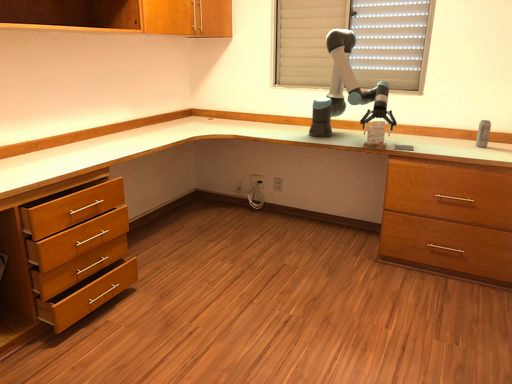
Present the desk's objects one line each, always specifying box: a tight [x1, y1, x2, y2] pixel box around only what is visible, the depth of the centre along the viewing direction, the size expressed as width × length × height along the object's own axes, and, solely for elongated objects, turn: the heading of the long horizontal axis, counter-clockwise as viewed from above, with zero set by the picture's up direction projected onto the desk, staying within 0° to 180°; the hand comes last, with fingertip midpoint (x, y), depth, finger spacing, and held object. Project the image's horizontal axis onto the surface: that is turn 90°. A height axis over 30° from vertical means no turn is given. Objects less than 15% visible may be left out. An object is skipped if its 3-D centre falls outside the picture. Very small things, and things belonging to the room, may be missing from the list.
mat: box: [393, 143, 414, 152], centre depth 242 cm, size 10×12×1 cm
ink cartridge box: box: [366, 120, 386, 144], centre depth 244 cm, size 9×5×15 cm, turn 101°
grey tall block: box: [475, 119, 492, 149], centre depth 243 cm, size 6×6×15 cm
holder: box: [362, 141, 387, 150], centre depth 246 cm, size 12×13×2 cm
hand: (376, 134), depth 243 cm, fingers open, 13 cm apart
